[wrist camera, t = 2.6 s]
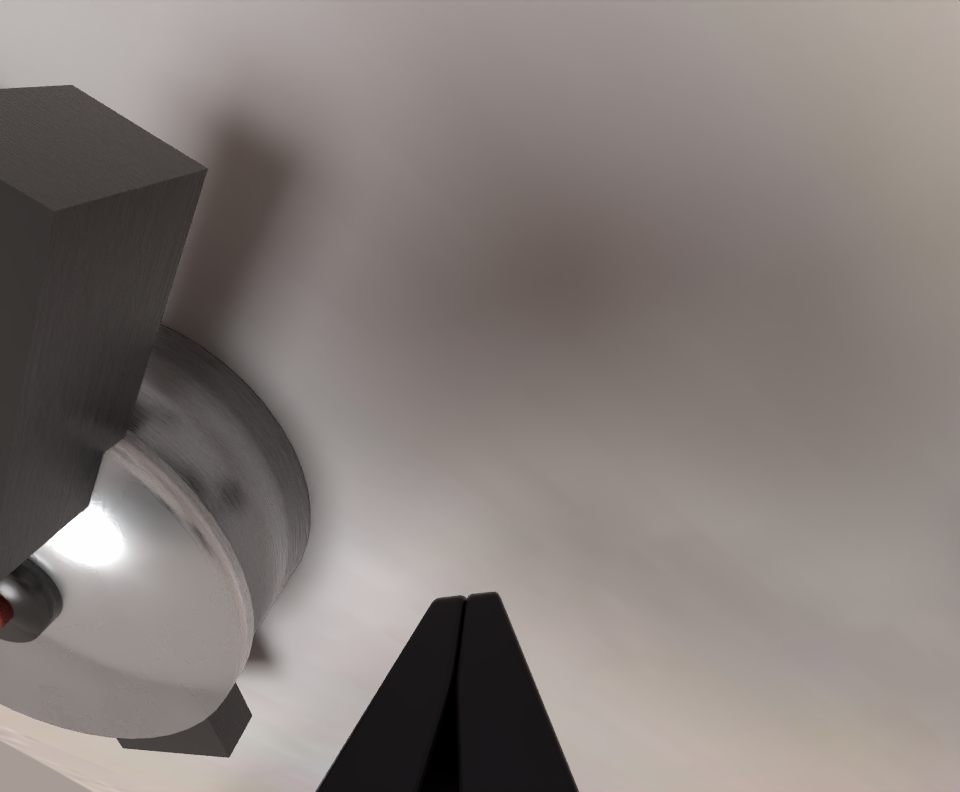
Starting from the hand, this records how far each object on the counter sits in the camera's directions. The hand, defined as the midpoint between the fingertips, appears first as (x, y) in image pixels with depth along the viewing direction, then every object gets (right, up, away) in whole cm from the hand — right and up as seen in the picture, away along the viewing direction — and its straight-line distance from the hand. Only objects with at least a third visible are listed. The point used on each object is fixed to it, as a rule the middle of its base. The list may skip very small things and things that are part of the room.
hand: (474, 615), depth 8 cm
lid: (-12, 0, +10) cm, 16 cm away
